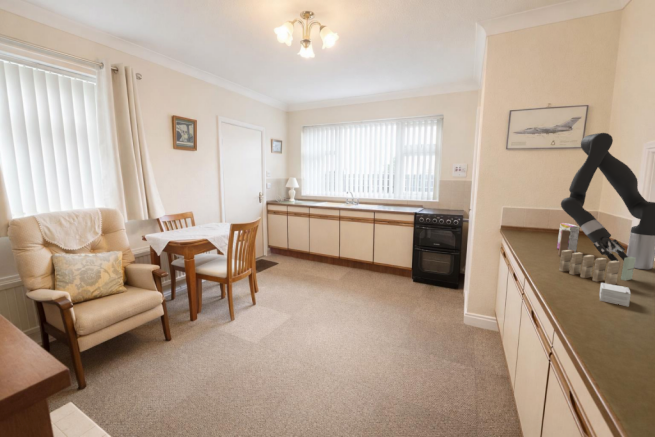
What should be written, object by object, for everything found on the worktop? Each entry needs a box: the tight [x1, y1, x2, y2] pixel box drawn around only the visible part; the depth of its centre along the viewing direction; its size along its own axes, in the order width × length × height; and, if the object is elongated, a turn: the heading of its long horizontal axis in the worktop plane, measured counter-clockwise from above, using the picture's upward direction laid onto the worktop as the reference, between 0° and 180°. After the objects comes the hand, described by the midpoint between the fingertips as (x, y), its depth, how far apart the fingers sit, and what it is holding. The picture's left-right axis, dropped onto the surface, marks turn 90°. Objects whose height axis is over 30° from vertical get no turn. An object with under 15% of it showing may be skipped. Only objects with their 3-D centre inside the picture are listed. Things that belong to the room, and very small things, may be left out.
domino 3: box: [579, 254, 595, 279], centre depth 131 cm, size 2×5×10 cm, turn 110°
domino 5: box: [604, 260, 621, 285], centre depth 123 cm, size 2×5×10 cm, turn 110°
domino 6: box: [620, 257, 636, 282], centre depth 129 cm, size 2×5×10 cm, turn 110°
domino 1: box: [558, 250, 572, 273], centre depth 140 cm, size 2×5×10 cm, turn 111°
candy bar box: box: [556, 222, 581, 253], centre depth 174 cm, size 11×5×16 cm, turn 168°
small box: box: [599, 282, 632, 307], centre depth 108 cm, size 8×8×5 cm
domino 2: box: [568, 252, 584, 276], centre depth 135 cm, size 2×5×10 cm, turn 110°
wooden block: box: [558, 230, 575, 259], centre depth 163 cm, size 7×3×15 cm, turn 57°
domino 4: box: [591, 257, 608, 283], centre depth 127 cm, size 2×5×10 cm, turn 110°
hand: (621, 261), depth 131 cm, fingers open, 8 cm apart
